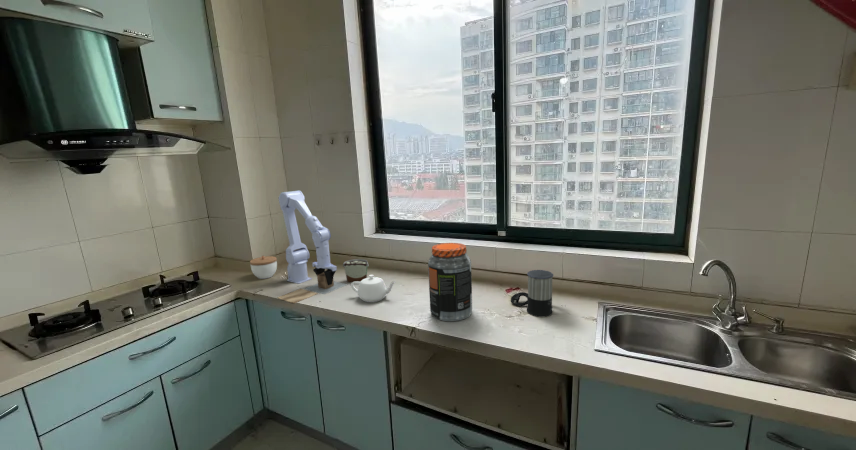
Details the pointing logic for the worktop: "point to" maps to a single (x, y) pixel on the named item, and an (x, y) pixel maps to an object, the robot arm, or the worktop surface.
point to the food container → (355, 270)
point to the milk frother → (537, 293)
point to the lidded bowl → (264, 266)
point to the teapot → (372, 289)
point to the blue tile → (324, 291)
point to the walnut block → (323, 281)
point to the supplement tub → (450, 282)
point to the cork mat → (297, 296)
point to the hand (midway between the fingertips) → (325, 283)
